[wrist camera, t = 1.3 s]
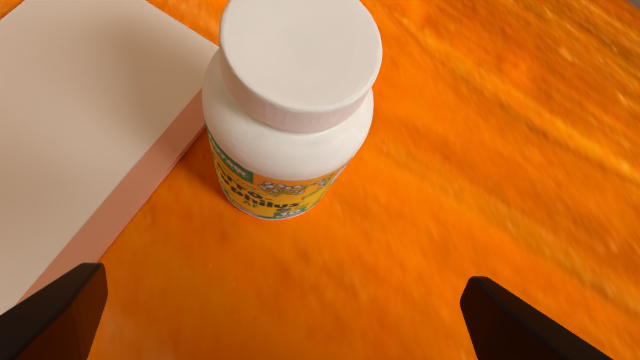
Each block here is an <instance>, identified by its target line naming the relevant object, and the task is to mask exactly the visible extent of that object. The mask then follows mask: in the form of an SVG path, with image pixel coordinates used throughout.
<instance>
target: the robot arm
mask: <svg viewBox="0 0 640 360" xmlns="http://www.w3.org/2000/svg"><path fill="white" fill-rule="evenodd" d="M107 296H108V288H107V280H106V272H105V267H104V265H103V264H102V263H95V262H83V263H81V264H79V265H77V266H76V267H74V268H72V269H71V270H69V271H68V272H66V273H65V274H63V275H62V276H60V277H58V278H57V279H55V280H54V281H52V282H51V283H49V284H48V285H46V286H44V287H43V288H41V289H40V290H38V291H37V292H35V293H34V294H32V295H30V296H29V297H27V298H26V299H24V300H23V301H21V302H20V303H18V304H16V305H15V306H13V307H12V308H10V309H9V310H7V311H6V312H4V313H2V314H1V315H0V360H87V358H88V355H89V352H90V349H91V346H92V343H93V340H94V337H95V334H96V331H97V328H98V325H99V322H100V319H101V316H102V313H103V310H104V307H105V304H106V301H107ZM460 307H461V311H462V314H463V317H464V320H465V323H466V326H467V329H468V332H469V335H470V338H471V341H472V344H473V347H474V350H475V353H476V356H477V358H478V360H613V359H612V358H610V357H609V356H607V355H606V354H604V353H603V352H601V351H600V350H598V349H596V348H595V347H593V346H592V345H590V344H589V343H587V342H586V341H584V340H583V339H581V338H580V337H578V336H577V335H575V334H574V333H572V332H571V331H569V330H567V329H566V328H564V327H563V326H561V325H560V324H558V323H557V322H555V321H554V320H552V319H551V318H549V317H548V316H546V315H545V314H543V313H542V312H540V311H538V310H537V309H535V308H534V307H532V306H531V305H529V304H528V303H526V302H525V301H523V300H522V299H520V298H519V297H517V296H516V295H514V294H513V293H511V292H510V291H508V290H506V289H505V288H503V287H502V286H500V285H499V284H497V283H496V282H494V281H493V280H491V279H490V278H488V277H485V276H472V277H471V278H470V279H469V280H468V282H467V285H466V287H465V289H464V291H463V294H462V296H461V299H460Z"/></svg>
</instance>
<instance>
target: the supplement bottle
mask: <svg viewBox="0 0 640 360" xmlns="http://www.w3.org/2000/svg"><path fill="white" fill-rule="evenodd" d="M381 61H382V44H381V38H380V34H379V31H378V28H377V25H376V24H375V22H374V20H373V18H372V16H371V14H370V13H369V12H368V10H367V9H366V8H365V7H364V6H363V5H362V3H361V2H360V1H359V0H230V1H229V2H228V4H227V5H226V8H225V10H224V12H223V14H222V17H221V22H220V29H219V49H218V50H217V51H216V52H215V54H214V55H213V57H212V59H211V60H210V62H209V64H208V67H207V69H206V72H205V75H204V79H203V85H202V107H203V114H204V120H205V124H206V128H207V133H208V137H209V142H210V147H211V151H212V155H213V160H214V164H215V169H216V173H217V177H218V180H219V183H220V186H221V188H222V190H223V192H224V193H225V195H226V197H227V198H228V199H229V200H230V202H231V203H232V204H233V205H235V206H236V207H237V208H238V209H240V210H241V211H243V212H245V213H246V214H249V215H251V216H253V217H256V218H259V219H264V220H281V219H287V218H292V217H295V216H298V215H301V214H303V213H304V212H306V211H308V210H309V209H311V208H312V207H313V206H314V205H316V203H317V202H318V201H319V200H320V199H321V198H322V197H323V195H324V194H325V193H326V191H327V190H328V189H329V187H330V186H331V185H332V183H333V182H334V181H335V179H336V178H337V177H338V176H339V174H340V173H341V172H342V171H343V169H344V168H345V167H346V165H347V164H348V163H349V162H350V160H351V159H352V158H353V156H354V155H355V154H356V152H357V151H358V150H359V148H360V147H361V145H362V144H363V142H364V140H365V138H366V136H367V134H368V131H369V128H370V125H371V122H372V116H373V93H372V88H371V87H372V85H373V83H374V82H375V79H376V77H377V75H378V72H379V69H380V66H381Z"/></svg>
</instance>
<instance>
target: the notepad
mask: <svg viewBox="0 0 640 360" xmlns="http://www.w3.org/2000/svg"><path fill="white" fill-rule="evenodd" d="M218 49H219V47H218V46H217V45H215V44H214V43H212V42H210V41H209V40H207V39H206V38H204V37H202V36H201V35H199V34H198V33H196V32H195V31H193V30H191V29H190V28H188V27H187V26H185V25H183V24H182V23H180V22H179V21H177V20H175V19H174V18H172V17H171V16H169V15H168V14H166V13H164V12H163V11H161V10H160V9H158V8H156V7H155V6H153V5H152V4H150V3H148V2H147V1H145V0H25V1H23V2H22V3H21V4H20V5H18V6H17V7H16V8H15V9H13V10H12V11H11V12H10V13H8V14H7V15H6V16H5V17H3V18H2V19H1V20H0V315H1V314H2V313H4V312H6V311H7V310H9V309H10V308H12V307H13V306H15V305H16V304H18V303H20V302H21V301H23V300H24V299H26V298H27V297H29V296H30V295H32V294H34V293H35V292H37V291H38V290H40V289H41V288H43V287H44V286H46V285H48V284H49V283H51V282H52V281H54V280H55V279H57V278H58V277H60V276H62V275H63V274H65V273H66V272H68V271H69V270H71V269H72V268H74V267H76V266H77V265H79V264H81V263H83V262H95V263H97V261H98V260H99V259H100V258H101V257H102V255H103V254H104V253H105V252H106V250H107V249H108V248H109V247H110V245H111V244H112V243H113V242H114V240H115V239H116V238H117V237H118V236H119V234H120V233H121V232H122V231H123V229H124V228H125V227H126V226H127V224H128V223H129V222H130V221H131V219H132V218H133V217H134V216H135V215H136V213H137V212H138V211H139V210H140V208H141V207H142V206H143V205H144V203H145V202H146V201H147V200H148V198H149V197H150V196H151V195H152V193H153V192H154V191H155V190H156V189H157V187H158V186H159V185H160V184H161V182H162V181H163V180H164V179H165V177H166V176H167V175H168V174H169V172H170V171H171V170H172V169H173V168H174V166H175V165H176V164H177V163H178V161H179V160H180V159H181V158H182V156H183V155H184V154H185V153H186V151H187V150H188V149H189V148H190V146H191V145H192V144H193V143H194V142H195V140H196V139H197V138H198V137H199V135H200V134H201V133H202V132H203V130H204V129H205V128H206V124H205V120H204V114H203V107H202V85H203V79H204V75H205V72H206V69H207V67H208V64H209V62H210V60H211V59H212V57H213V55H214V54H215V52H216V51H217V50H218Z"/></svg>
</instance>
